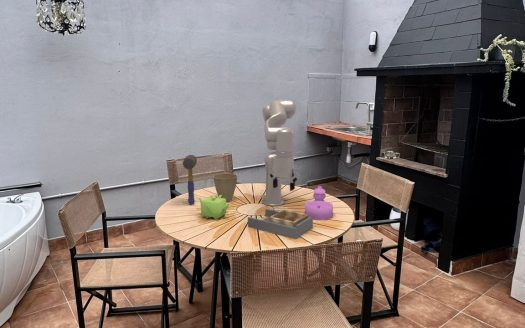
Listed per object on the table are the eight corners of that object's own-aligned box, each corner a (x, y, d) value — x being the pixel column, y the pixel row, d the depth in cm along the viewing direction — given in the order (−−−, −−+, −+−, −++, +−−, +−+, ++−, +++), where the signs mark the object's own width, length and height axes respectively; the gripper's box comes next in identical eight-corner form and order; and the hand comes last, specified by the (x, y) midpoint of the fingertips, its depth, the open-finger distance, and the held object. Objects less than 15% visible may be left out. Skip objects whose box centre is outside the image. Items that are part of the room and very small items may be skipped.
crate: (269, 228, 186) (269, 217, 185) (283, 220, 197) (283, 209, 196) (293, 234, 178) (294, 222, 177) (307, 225, 189) (307, 214, 188)
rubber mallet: (186, 201, 235) (184, 153, 229) (198, 201, 235) (197, 153, 229) (183, 207, 223) (181, 157, 217) (196, 207, 223) (194, 157, 217)
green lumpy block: (197, 214, 210) (196, 195, 208) (221, 211, 216) (220, 192, 214) (205, 222, 197) (205, 202, 195) (230, 218, 203) (230, 198, 201)
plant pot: (209, 200, 237) (208, 175, 234) (228, 195, 247) (227, 172, 244) (223, 205, 227) (222, 179, 224) (242, 200, 236) (242, 176, 233)
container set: (332, 221, 201) (333, 197, 198) (303, 219, 203) (304, 195, 201) (332, 206, 225) (332, 185, 222) (306, 205, 227) (306, 184, 225)
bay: (247, 226, 191) (247, 215, 190) (266, 217, 205) (266, 207, 204) (295, 238, 176) (296, 226, 175) (312, 228, 190) (312, 216, 189)
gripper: (264, 154, 184) (264, 187, 188) (296, 157, 175) (295, 193, 178) (273, 152, 190) (272, 184, 194) (303, 155, 181) (302, 189, 184)
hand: (283, 188), depth 186 cm, fingers open, 9 cm apart
